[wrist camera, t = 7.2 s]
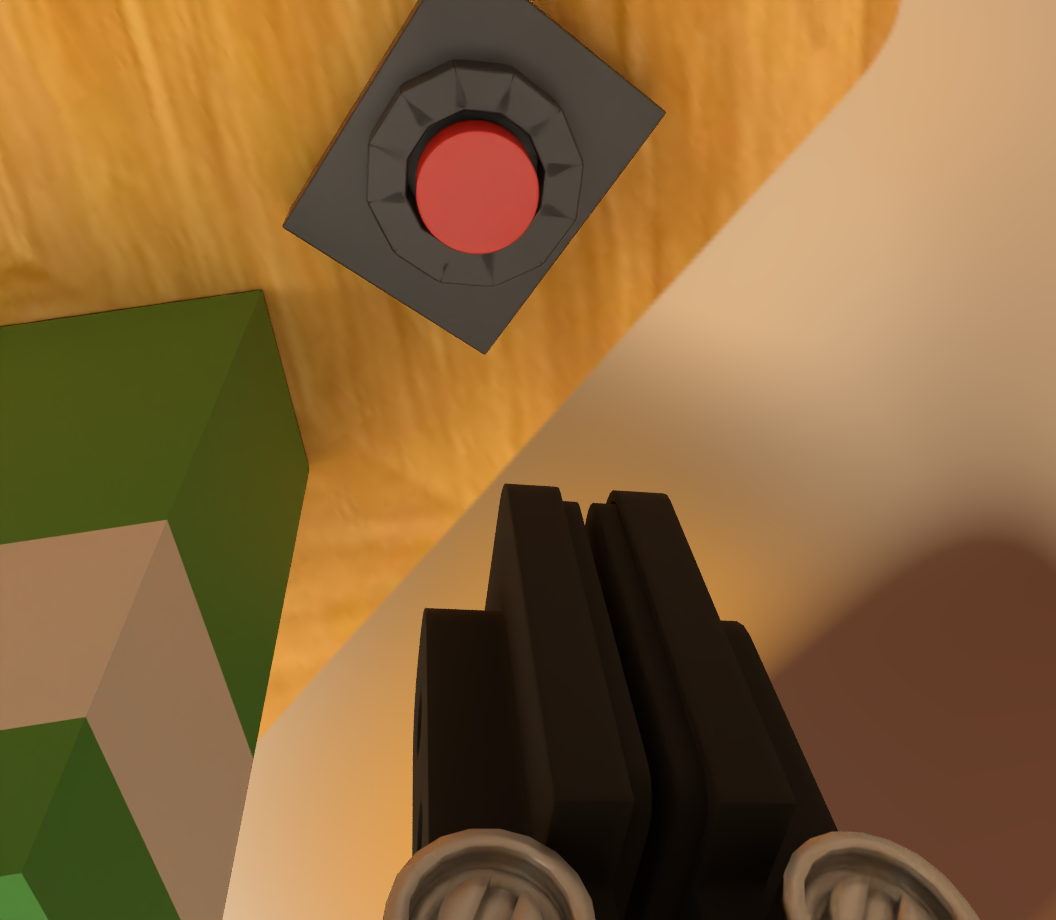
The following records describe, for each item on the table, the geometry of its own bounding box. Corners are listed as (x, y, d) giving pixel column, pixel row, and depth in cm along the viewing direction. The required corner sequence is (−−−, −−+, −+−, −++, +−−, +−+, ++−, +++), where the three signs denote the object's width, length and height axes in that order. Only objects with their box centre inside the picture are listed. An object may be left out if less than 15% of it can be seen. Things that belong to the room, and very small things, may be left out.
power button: (459, 93, 28) (462, 103, 27) (556, 165, 30) (563, 179, 28) (393, 195, 30) (391, 210, 28) (488, 259, 31) (492, 277, 29)
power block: (454, -60, 30) (459, -56, 26) (651, 100, 33) (680, 122, 29) (289, 208, 33) (274, 242, 30) (481, 331, 36) (488, 375, 32)
